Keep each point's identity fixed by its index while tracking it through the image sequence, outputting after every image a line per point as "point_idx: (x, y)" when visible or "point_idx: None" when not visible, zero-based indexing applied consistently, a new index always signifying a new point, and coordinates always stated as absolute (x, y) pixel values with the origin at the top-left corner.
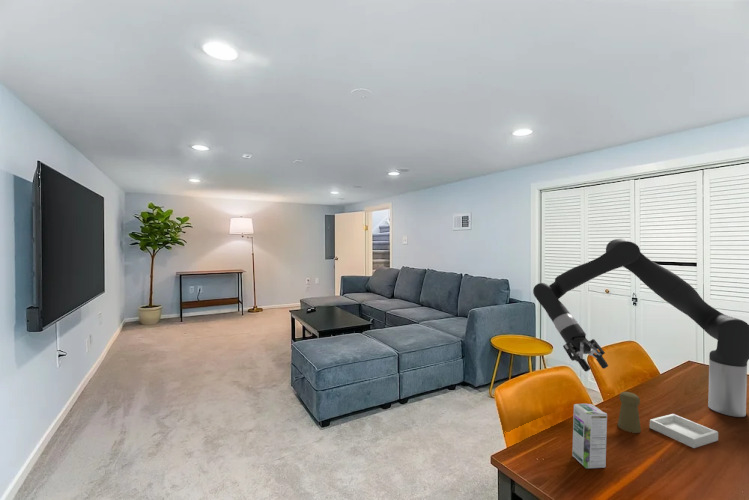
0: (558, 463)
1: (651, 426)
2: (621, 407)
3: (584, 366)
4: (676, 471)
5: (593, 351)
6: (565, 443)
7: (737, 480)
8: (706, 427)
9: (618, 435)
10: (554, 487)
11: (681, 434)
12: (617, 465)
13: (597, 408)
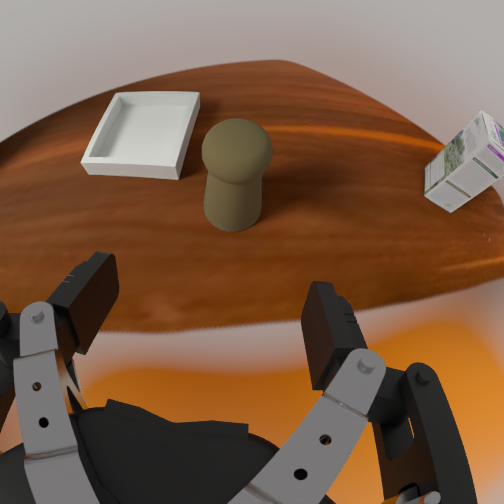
0: (473, 215)
1: (179, 172)
2: (255, 187)
3: (350, 312)
4: (322, 102)
5: (67, 381)
6: (439, 243)
7: (255, 63)
8: (109, 106)
9: (304, 199)
10: (491, 192)
11: (193, 109)
12: (402, 158)
13: (488, 126)
